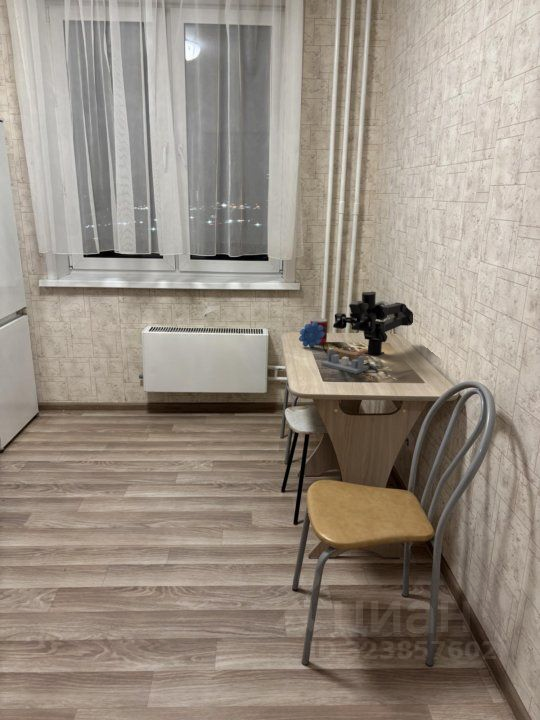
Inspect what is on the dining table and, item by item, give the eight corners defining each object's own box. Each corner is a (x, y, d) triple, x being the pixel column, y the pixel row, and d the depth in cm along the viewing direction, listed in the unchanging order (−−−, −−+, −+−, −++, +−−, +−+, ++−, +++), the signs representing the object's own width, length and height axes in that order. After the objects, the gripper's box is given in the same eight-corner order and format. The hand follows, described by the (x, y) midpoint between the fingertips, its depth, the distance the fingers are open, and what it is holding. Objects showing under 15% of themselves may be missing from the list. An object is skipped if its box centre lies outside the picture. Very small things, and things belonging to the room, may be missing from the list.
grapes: (324, 345, 250) (325, 320, 246) (323, 349, 243) (324, 323, 240) (299, 344, 251) (300, 319, 248) (298, 348, 245) (299, 322, 241)
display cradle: (334, 360, 227) (334, 346, 225) (368, 369, 216) (369, 354, 214) (321, 364, 220) (321, 351, 218) (356, 374, 209) (357, 359, 208)
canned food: (307, 340, 258) (308, 318, 255) (322, 339, 260) (323, 317, 257) (313, 344, 251) (314, 321, 248) (328, 343, 253) (330, 320, 250)
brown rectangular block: (329, 356, 234) (329, 349, 233) (334, 354, 236) (334, 347, 236) (354, 362, 225) (354, 355, 225) (359, 360, 228) (359, 353, 227)
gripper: (345, 298, 230) (322, 306, 219) (382, 300, 217) (360, 309, 207) (347, 323, 233) (324, 332, 223) (384, 326, 220) (362, 336, 210)
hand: (342, 327), depth 215 cm, fingers open, 9 cm apart
